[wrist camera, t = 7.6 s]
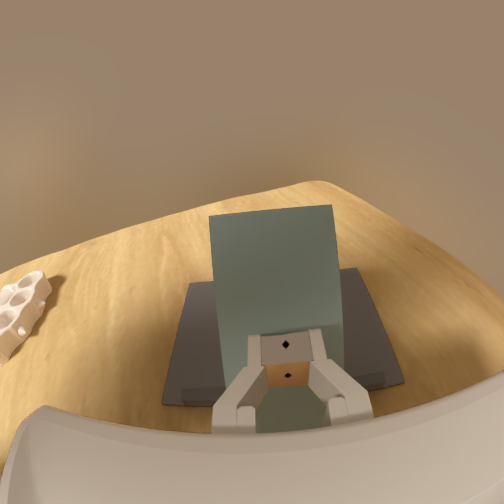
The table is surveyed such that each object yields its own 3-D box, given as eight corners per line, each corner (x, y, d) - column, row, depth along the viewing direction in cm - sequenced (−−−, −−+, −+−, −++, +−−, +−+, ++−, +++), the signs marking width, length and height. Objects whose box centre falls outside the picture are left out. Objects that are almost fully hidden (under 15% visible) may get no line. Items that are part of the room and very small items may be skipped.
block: (237, 463, 13) (208, 216, 14) (246, 417, 19) (227, 231, 20) (341, 454, 12) (331, 204, 13) (325, 410, 18) (313, 223, 19)
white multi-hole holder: (18, 287, 37) (69, 285, 36) (-30, 359, 22) (15, 377, 21) (10, 272, 36) (60, 267, 35) (-42, 343, 21) (-2, 359, 20)
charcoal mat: (162, 404, 20) (157, 397, 19) (190, 284, 33) (187, 276, 33) (404, 382, 19) (408, 375, 18) (356, 268, 32) (357, 260, 32)
